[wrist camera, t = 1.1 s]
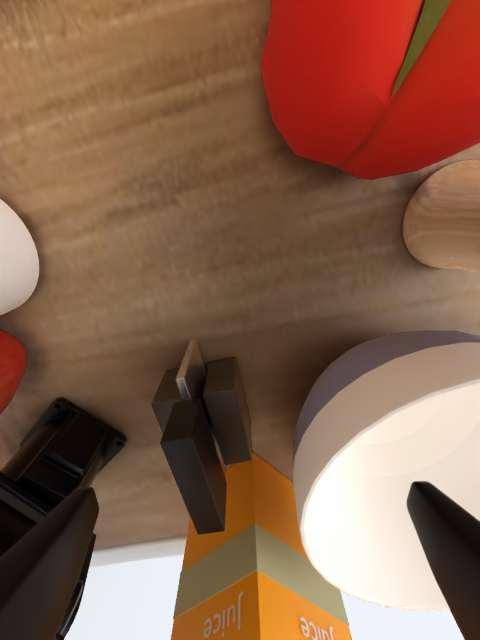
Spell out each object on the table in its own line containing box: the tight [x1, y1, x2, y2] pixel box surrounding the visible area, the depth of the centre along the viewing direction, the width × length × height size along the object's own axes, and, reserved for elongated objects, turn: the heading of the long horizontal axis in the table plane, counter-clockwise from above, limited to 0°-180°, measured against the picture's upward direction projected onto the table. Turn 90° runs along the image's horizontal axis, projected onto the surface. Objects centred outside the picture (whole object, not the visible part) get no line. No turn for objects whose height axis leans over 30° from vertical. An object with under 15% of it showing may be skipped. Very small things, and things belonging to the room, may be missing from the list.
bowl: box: [293, 331, 480, 611], centre depth 18 cm, size 16×16×10 cm
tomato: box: [261, 0, 480, 180], centre depth 10 cm, size 11×12×9 cm
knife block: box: [152, 357, 252, 465], centre depth 20 cm, size 6×5×4 cm
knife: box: [160, 339, 227, 535], centre depth 18 cm, size 10×2×8 cm, turn 12°
